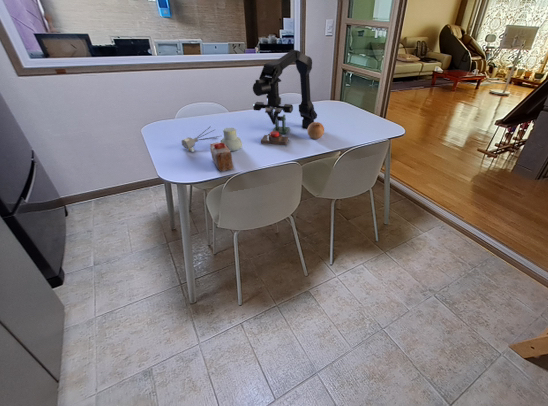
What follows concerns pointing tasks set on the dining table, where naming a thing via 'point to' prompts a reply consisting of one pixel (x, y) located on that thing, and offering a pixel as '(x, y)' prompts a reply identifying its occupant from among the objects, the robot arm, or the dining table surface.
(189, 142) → the reed diffuser
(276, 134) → the push button
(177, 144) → the dining table surface
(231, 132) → the air freshener
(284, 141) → the button box
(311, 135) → the onion
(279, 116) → the switch lever
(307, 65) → the robot arm
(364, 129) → the dining table surface
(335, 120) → the dining table surface
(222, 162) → the food item
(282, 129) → the switch bracket
